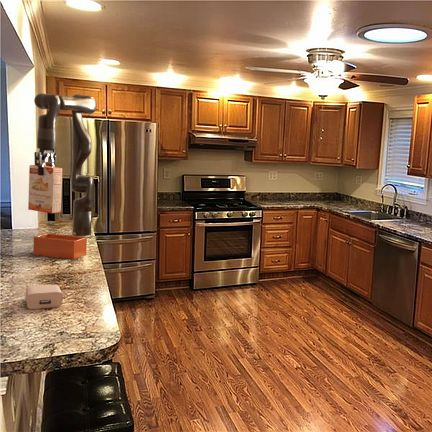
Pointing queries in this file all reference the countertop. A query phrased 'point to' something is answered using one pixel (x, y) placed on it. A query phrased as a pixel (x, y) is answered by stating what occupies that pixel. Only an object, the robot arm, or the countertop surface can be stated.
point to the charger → (43, 296)
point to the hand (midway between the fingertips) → (45, 175)
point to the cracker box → (45, 189)
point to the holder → (60, 246)
